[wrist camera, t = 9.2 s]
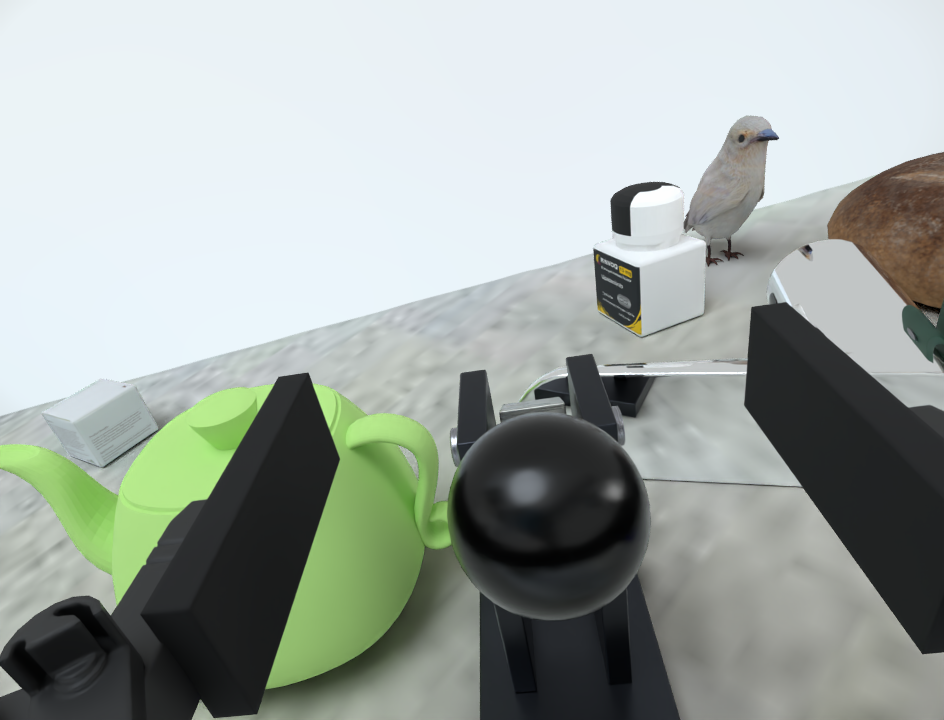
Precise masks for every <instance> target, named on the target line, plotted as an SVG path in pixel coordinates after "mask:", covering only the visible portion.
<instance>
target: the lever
mask: <svg viewBox="0 0 944 720" xmlns="http://www.w3.org/2000/svg"><path fill="white" fill-rule="evenodd" d="M499 414H500V421H501V423H500V424H498V425H496V426H495V427H493V428H492V429H490V430H489V431H487V432H486V433H485V434H484V435H482V436H481V437H480V438H479V439H478V440H477V441H476V442H475V443H474V444H473V445H472V446H471V448H470V449H469V450H468V451H467V453H466V454H465V456H464V457H463V459H462V460H461V462H460V464H459V466H458V468H457V470H456V472H455V475H454V478H453V481H452V484H451V487H450V492H449V497H448V506H447V520H448V529H449V534H450V539H451V544H452V547H453V549H454V552H455V555H456V557H457V559H458V561H459V563H460V565H461V567H462V569H463V570H464V572H465V573H466V575H467V576H468V578H469V579H470V580H471V582H472V583H473V584H474V585H475V586H476V588H477V589H478V590H479V591H480V592H481V593H482V594H484V595H485V596H486V597H487V598H488V599H490V600H491V601H492V602H493V603H495V604H496V605H498V606H500V607H502V608H503V609H505V610H507V611H509V612H511V613H513V614H516V615H519V616H522V617H525V618H528V619H533V620H539V621H566V620H572V619H576V618H579V617H583V616H586V615H589V614H591V613H594V612H596V611H597V610H599V609H601V608H602V607H604V606H606V605H607V604H609V603H610V602H612V601H613V600H614V599H615V598H616V597H617V596H618V595H619V594H621V593H622V592H623V591H624V590H625V588H626V587H627V586H628V585H629V583H630V582H631V581H632V579H633V578H634V577H635V575H636V573H637V571H638V570H639V568H640V566H641V564H642V561H643V558H644V555H645V553H646V550H647V547H648V542H649V537H650V525H651V517H650V504H649V499H648V494H647V490H646V487H645V484H644V482H643V479H642V476H641V475H640V473H639V471H638V469H637V467H636V465H635V463H634V462H633V460H632V459H631V458H630V456H629V455H628V453H627V452H626V451H625V450H624V448H623V447H622V446H621V445H620V444H619V443H618V442H617V441H616V440H615V439H614V438H612V437H611V436H610V435H609V434H608V433H606V432H605V431H603V430H602V429H600V428H599V427H597V426H595V425H594V424H592V423H589V422H587V421H585V420H583V419H580V418H577V417H574V416H571V415H567V414H566V407H565V403H564V402H563V401H562V399H561V398H560V397H554V398H547V399H539V400H532V401H525V402H518V403H510V404H504V405H503V406H502V408H501V410H500V412H499Z"/></svg>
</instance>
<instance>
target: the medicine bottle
mask: <svg viewBox="0 0 944 720" xmlns="http://www.w3.org/2000/svg"><path fill="white" fill-rule="evenodd" d="M611 219H612V236H613V239H610V240H606V241H603V242H600V243H597V244H595V245H594V247H593V249H594V264H595V278H596V292H597V306H598V311H599V312H600V313H602V314H603V315H605V316H607V317H608V318H610V319H612V320H613V321H615V322H617V323H618V324H620V325H621V326H623V327H625V328H626V329H628V330H630V331H631V332H633V333H635V334H636V335H638V336H640V337H643V336H646V335H648V334H651V333H654V332H657V331H659V330H662V329H665V328H667V327H670V326H673V325H676V324H678V323H681V322H684V321H686V320H689V319H692V318H695V317H697V316H700V315H702V314H703V313H704V302H705V269H706V242H705V241H703V240H700V239H697V238H694V237H691V236H687V235H684V234H682V233H683V230H684V192H683V191H682V190H681V189H680V187H678V186H675V185H672V184H669V183H665V182H647V183H641V184H635V185H631V186H628V187H626V188H624V189H622V190H620V191H618V192H617V193H615V194H614V195H613V197H612V198H611Z"/></svg>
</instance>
